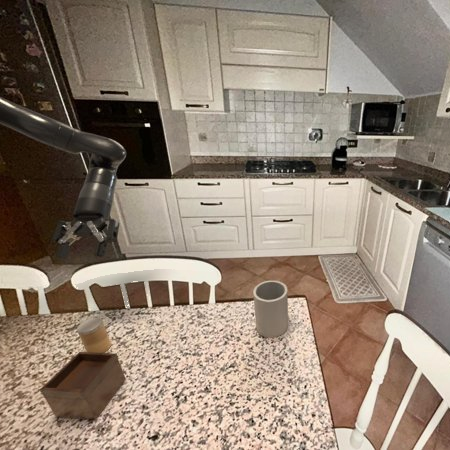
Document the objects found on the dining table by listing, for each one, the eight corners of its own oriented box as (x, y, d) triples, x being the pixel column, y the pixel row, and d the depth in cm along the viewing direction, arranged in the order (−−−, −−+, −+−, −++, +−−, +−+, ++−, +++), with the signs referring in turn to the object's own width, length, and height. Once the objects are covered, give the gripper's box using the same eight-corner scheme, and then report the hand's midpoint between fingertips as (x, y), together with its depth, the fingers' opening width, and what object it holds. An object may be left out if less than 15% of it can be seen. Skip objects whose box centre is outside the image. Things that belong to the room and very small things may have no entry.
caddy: (55, 417, 48) (39, 389, 45) (91, 377, 55) (79, 351, 52) (95, 419, 47) (82, 392, 44) (126, 379, 55) (116, 353, 52)
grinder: (82, 356, 60) (70, 332, 57) (98, 340, 65) (88, 316, 62) (101, 357, 60) (90, 332, 57) (116, 341, 64) (107, 317, 61)
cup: (250, 322, 71) (247, 288, 66) (276, 309, 76) (275, 276, 71) (267, 343, 64) (264, 306, 59) (294, 326, 69) (294, 292, 65)
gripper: (56, 196, 64) (35, 255, 58) (114, 195, 66) (100, 252, 60) (77, 209, 71) (61, 263, 65) (129, 207, 73) (118, 260, 67)
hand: (79, 258), depth 62 cm, fingers open, 8 cm apart
